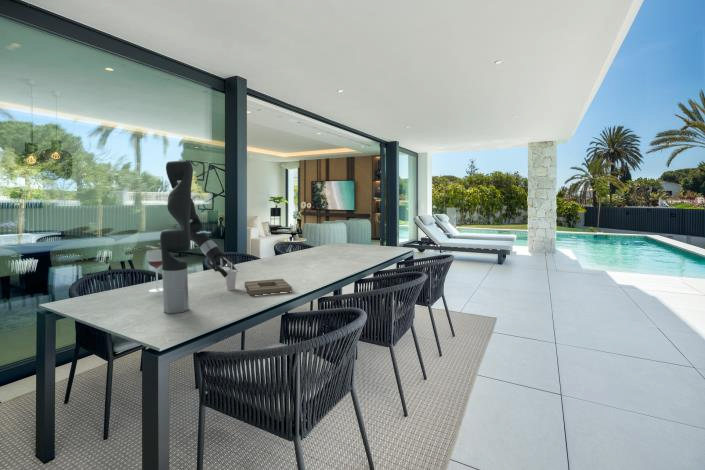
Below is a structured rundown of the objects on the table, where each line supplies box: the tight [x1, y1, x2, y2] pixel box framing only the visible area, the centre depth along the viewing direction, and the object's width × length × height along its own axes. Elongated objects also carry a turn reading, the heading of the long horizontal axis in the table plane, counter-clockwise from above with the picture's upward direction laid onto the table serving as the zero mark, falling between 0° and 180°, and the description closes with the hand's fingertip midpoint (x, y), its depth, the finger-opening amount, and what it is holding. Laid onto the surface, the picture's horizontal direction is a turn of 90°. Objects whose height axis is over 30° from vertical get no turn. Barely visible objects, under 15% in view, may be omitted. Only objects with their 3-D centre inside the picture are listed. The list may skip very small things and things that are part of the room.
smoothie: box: [224, 262, 238, 291], centre depth 181 cm, size 6×6×14 cm
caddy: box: [244, 278, 293, 297], centre depth 181 cm, size 20×20×3 cm
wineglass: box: [145, 248, 163, 293], centre depth 178 cm, size 8×9×20 cm
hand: (231, 274), depth 181 cm, fingers open, 8 cm apart
